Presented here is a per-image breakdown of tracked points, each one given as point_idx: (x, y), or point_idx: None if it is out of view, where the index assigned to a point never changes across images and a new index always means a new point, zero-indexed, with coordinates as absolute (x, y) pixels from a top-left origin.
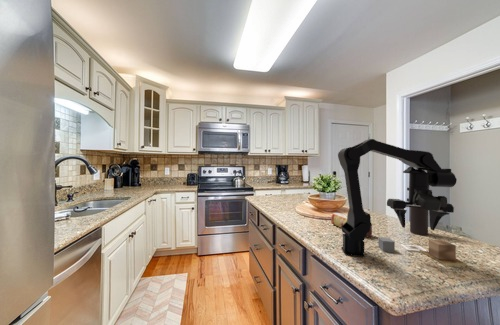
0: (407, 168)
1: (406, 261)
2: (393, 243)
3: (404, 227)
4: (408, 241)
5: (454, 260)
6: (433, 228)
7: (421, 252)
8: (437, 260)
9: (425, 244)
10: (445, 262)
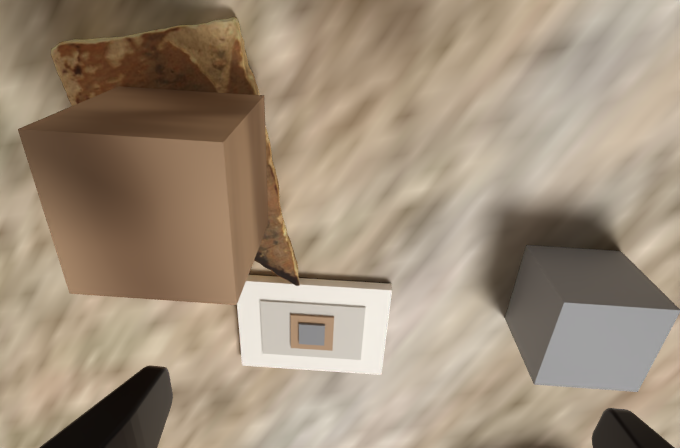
0: None
1: (569, 61)
2: (568, 292)
3: (619, 409)
4: (264, 435)
5: (129, 87)
6: (141, 387)
7: (296, 262)
8: None
9: None
10: (231, 48)
